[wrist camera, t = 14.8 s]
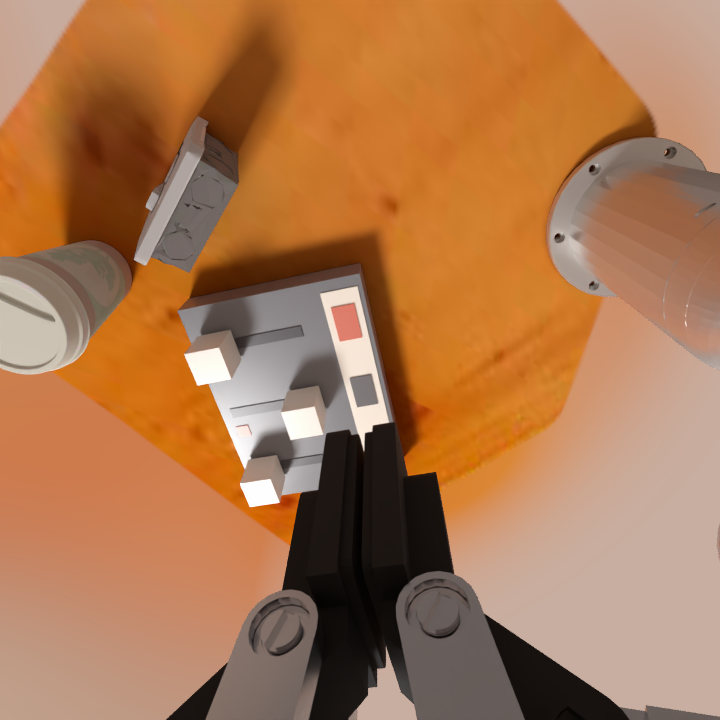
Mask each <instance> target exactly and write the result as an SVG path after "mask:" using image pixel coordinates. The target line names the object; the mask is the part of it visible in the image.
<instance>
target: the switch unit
mask: <svg viewBox="0 0 720 720" xmlns="http://www.w3.org/2000/svg"><path fill="white" fill-rule="evenodd" d="M178 313H179V315H180V318H181V320H182V322H183V325H184V327H185V329H186V332H187V334H188V337H189V339H190V341H191V344H192V343H193V342H194V341H195V339H196V338H197V337H198V336H200V335H205V334H211V333H216V332H221V331H226V330H231V332H232V335H233V338H234V340H235V343H236V346H237V348H238V351H239V354H240V356H241V359H242V360H241V362H240V364H239V366H238V368H237V370H236V372H235V374H234V376H233V377H232V379H230V380H225V381H220V382H214V383H209V386H210V388H211V391H212V393H213V396H214V398H215V400H216V403H217V405H218V407H219V410H220V412H221V414H222V417H223V419H224V421H225V424H226V426H227V429H228V431H229V433H230V436H231V438H232V440H233V443H234V445H235V447H236V450H237V452H238V454H239V457H240V459H241V462H242V464H243V466H244V469H245V468H246V465H247V462H248V460H249V459H255V458H261V457H268V456H274V455H277V456H278V459H279V462H280V464H281V467H282V470H283V472H284V475H285V482H284V486H283V490H282V495H286V494H293V493H300V492H306V491H313V490H318V486H319V479H320V472H321V465H322V458H323V451H324V444H325V437H326V434H327V433H330V432H336V431H342V430H348V429H349V430H350V432H351V434H352V435H354V434H359V436H360V439H361V442H362V446H363V450H364V441H365V433H367V432H372V427H373V425H378V424H384V423H390V422H395V423H396V420H395V415H394V411H393V406H392V402H391V397H390V393H389V388H388V384H387V379H386V375H385V370H384V366H383V361H382V357H381V352H380V348H379V344H378V339H377V335H376V330H375V326H374V321H373V317H372V312H371V308H370V303H369V299H368V294H367V290H366V285H365V281H364V276H363V272H362V268H361V263H357V264H352V265H347V266H343V267H338V268H333V269H328V270H323V271H318V272H314V273H309V274H304V275H299V276H294V277H290V278H285V279H280V280H275V281H270V282H265V283H261V284H256V285H251V286H246V287H241V288H237V289H232V290H227V291H222V292H217V293H212V294H208V295H203V296H198V297H193V298H189V299H188V300H187V301H186V302H185V303H184V304H183V306H182V307H181V308H180V309H179V310H178ZM313 386H319V388H320V392H321V395H322V398H323V402H324V405H325V408H326V412H327V413H326V420H325V426H324V433H323V435H318V436H312V437H306V438H300V439H294V440H290V437H289V434H288V431H287V428H286V426H285V423H284V420H283V417H282V414H281V410H282V407H283V404H284V400H285V397H286V394H287V391H290V390H296V389H302V388H307V387H313ZM396 426H397V424H396ZM397 430H398V428H397ZM398 435H399V433H398ZM399 439H400V437H399ZM400 444H401V442H400ZM401 448H402V446H401ZM402 452H403V451H402ZM403 457H404V455H403Z"/></svg>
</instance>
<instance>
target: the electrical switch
mask: <svg viewBox="0 0 720 720" xmlns="http://www.w3.org/2000/svg"><path fill="white" fill-rule="evenodd" d="M208 123H209V122H208V121H206V120H204V119H203V118H201V117H199V116H197V118H196V119H195V121H194V122H193V123H192V125H191V127H190V129H189V131H188V133H187V135H186V137H185V139H184V141H183V143H182V145H181V147H180V149H179V151H178V153H177V155H176V158H175V160H174V162H173V164H172V166H171V168H170V170H169V172H168V174H167V176H166V178H165V180H164V182H163V183H162V184H160V185H159V186H157V187H156V188H155V189H154V190H153V191H152V193H151V195H150V197H149V199H148V201H147V203H146V208H148V209H149V210H150V211H149V214H148V216H147V219H146V222H145V224H144V227H143V230H142V232H141V235H140V238H139V241H138V244H137V248H136V252H135V256H134V260H135V261H137V262H139V263H141V264H143V265H147V263H148V261H149V259H150V257H152V258H155V259H158V260H160V261H161V262H163V263H165V264H170V265H174V266H176V267H178V268H180V269H182V270H184V271H187V272H190V271H191V269H192V267H193V265H194V263H195V262H196V260H197V258H198V256H199V254H200V253H201V251H202V249H203V247H204V245H205V244H206V242H207V240H208V238H209V236H210V235H211V233H212V231H213V229H214V227H215V226H216V224H217V222H218V220H219V218H220V217H221V215H222V213H223V211H224V210H225V208H226V206H227V204H228V202H229V201H230V199H231V197H232V195H233V193H234V192H235V190H236V188H237V186H238V184H237V183H239V178H238V154H237V153H235V152H233V151H232V150H230V149H229V148H227V147H225V146H224V145H223V144H224V143H222V142H220V141H218V140H217V139H215V138H214V137H212V136H210V135H209V134H208V133H206V127H207V125H208ZM227 177H228V178H227ZM229 178H230V179H232V180H234V181H235V182H237V183H235V182H234V181H232V180H230V179H229ZM224 194H225V195H224ZM193 253H194V254H193Z"/></svg>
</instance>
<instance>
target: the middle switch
mask: <svg viewBox="0 0 720 720" xmlns="http://www.w3.org/2000/svg"><path fill="white" fill-rule="evenodd" d="M326 413H327V412H326V408H325V405H324V402H323V398H322V395H321V392H320V388H319V386H313V387H307V388H302V389H296V390H290V391H287V394H286V397H285V400H284V404H283V407H282V410H281V414H282V417H283V420H284V423H285V426H286V428H287V431H288V434H289V437H290V440H294V439H300V438H306V437H312V436H318V435H323V433H324V426H325V420H326Z"/></svg>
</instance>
